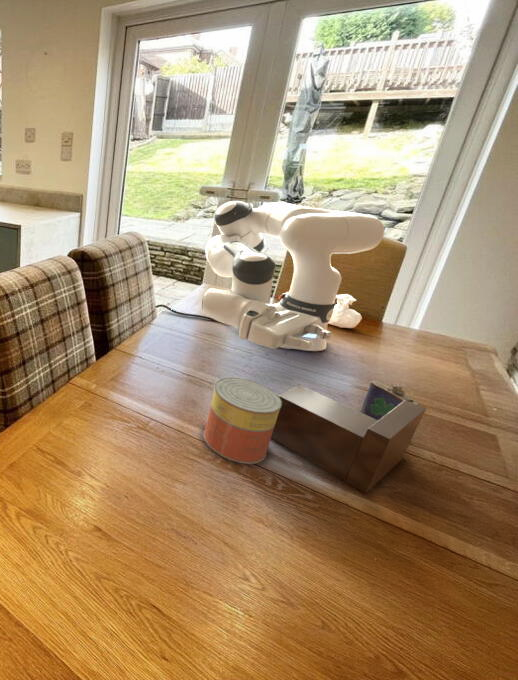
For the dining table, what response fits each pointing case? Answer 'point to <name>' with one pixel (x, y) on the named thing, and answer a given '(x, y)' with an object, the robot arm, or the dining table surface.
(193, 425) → the dining table surface
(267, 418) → the canned food
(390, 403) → the flask
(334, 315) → the white tied sack
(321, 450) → the l-shaped brown block
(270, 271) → the robot arm
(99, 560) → the dining table surface
